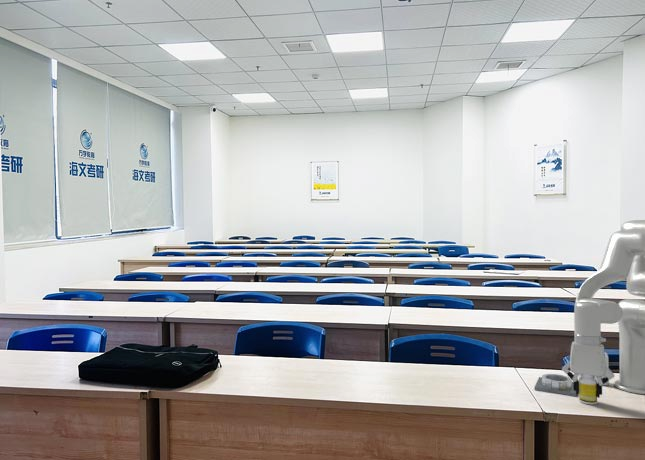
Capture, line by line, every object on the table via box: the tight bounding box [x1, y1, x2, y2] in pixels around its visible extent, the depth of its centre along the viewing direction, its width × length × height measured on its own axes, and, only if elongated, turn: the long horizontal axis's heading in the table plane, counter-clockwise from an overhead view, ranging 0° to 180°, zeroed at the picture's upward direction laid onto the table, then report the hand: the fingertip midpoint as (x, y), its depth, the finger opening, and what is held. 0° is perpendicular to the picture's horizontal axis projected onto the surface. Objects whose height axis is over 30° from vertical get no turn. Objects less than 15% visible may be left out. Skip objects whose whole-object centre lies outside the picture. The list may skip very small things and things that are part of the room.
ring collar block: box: [534, 373, 578, 397], centre depth 168 cm, size 13×13×4 cm
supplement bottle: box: [577, 374, 598, 405], centre depth 154 cm, size 5×5×10 cm
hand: (587, 394), depth 154 cm, fingers closed on supplement bottle, 5 cm apart
